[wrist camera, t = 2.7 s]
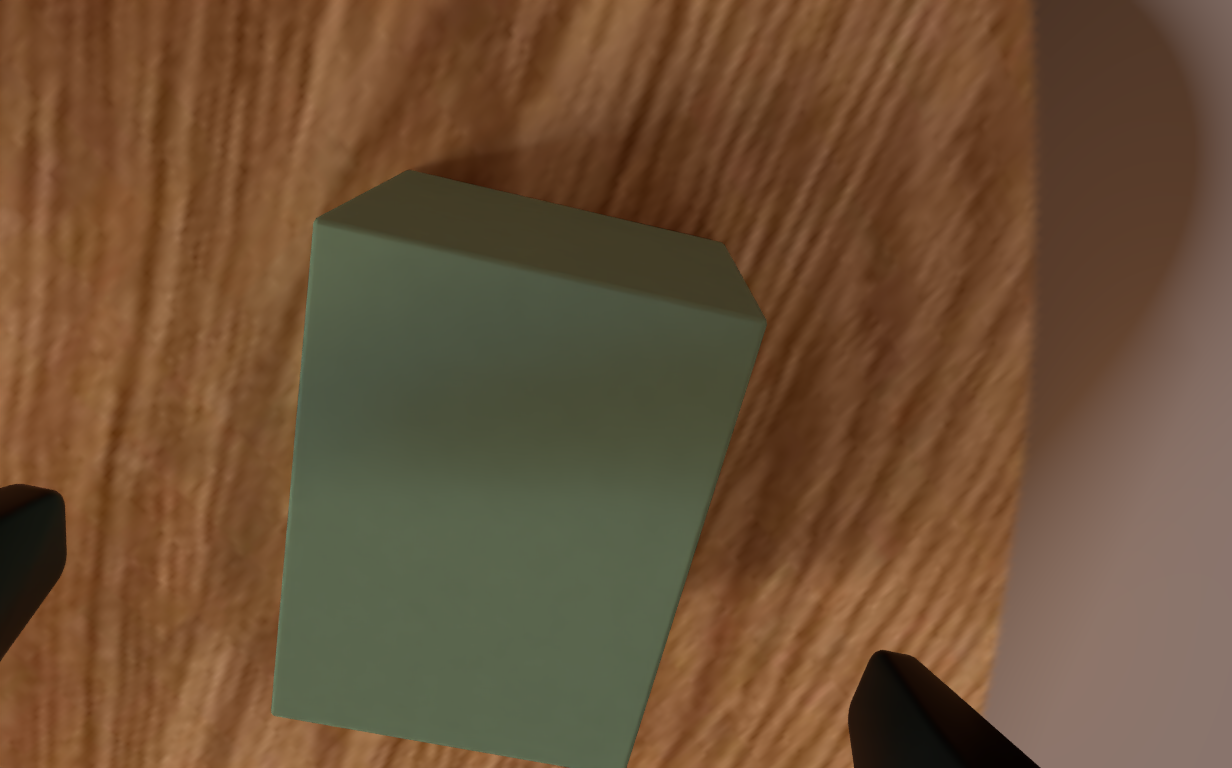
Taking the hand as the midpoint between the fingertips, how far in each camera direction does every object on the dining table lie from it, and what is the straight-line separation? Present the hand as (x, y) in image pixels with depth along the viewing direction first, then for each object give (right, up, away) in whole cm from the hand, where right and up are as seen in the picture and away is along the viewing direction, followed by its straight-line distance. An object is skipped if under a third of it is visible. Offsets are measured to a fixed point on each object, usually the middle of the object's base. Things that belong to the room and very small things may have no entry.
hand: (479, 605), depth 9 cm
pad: (0, +2, +5) cm, 5 cm away
